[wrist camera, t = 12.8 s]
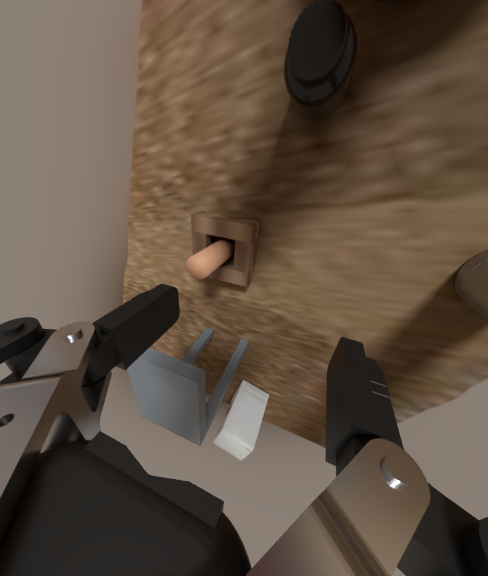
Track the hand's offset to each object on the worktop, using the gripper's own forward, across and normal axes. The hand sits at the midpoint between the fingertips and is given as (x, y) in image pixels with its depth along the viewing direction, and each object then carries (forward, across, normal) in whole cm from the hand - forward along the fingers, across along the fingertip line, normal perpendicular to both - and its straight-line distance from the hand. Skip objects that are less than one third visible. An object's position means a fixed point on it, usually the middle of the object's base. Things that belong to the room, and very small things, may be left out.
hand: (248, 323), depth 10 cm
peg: (+30, +14, +8) cm, 34 cm away
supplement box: (+30, +4, +53) cm, 61 cm away
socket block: (+30, +14, +8) cm, 34 cm away
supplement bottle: (+30, +2, -16) cm, 34 cm away
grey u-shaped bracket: (+30, +13, +26) cm, 42 cm away
